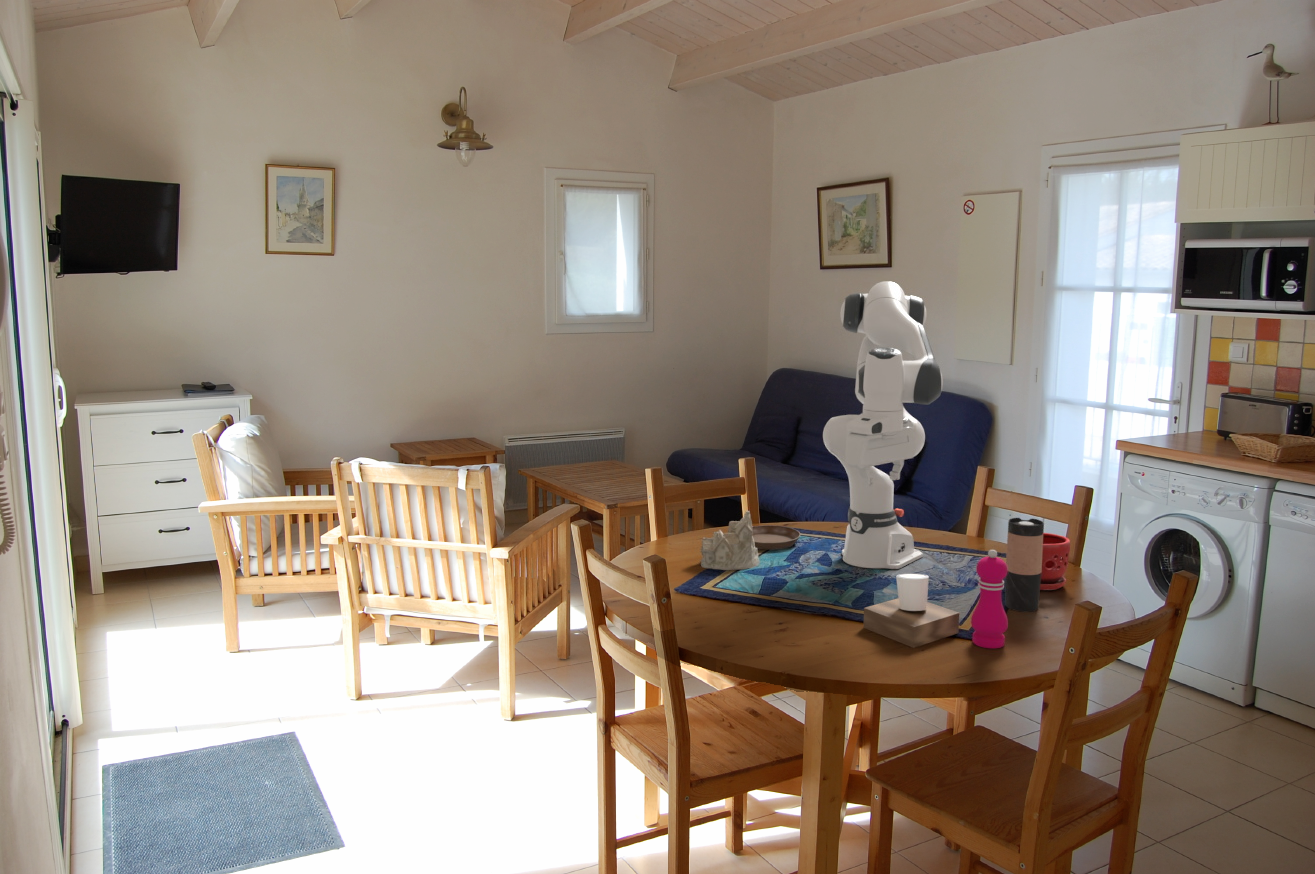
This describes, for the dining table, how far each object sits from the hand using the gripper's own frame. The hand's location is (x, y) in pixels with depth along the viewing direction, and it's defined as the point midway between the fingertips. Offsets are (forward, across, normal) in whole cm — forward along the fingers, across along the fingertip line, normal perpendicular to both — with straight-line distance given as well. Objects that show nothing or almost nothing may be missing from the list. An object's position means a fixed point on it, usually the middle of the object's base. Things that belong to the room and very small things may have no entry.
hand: (881, 482), depth 219 cm
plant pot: (+29, -42, +15) cm, 53 cm away
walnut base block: (+30, +6, +14) cm, 34 cm away
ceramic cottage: (+29, +2, -48) cm, 56 cm away
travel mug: (+29, -25, +21) cm, 44 cm away
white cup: (+24, +6, +14) cm, 29 cm away
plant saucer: (+30, -18, -54) cm, 64 cm away
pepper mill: (+29, 0, +29) cm, 41 cm away
